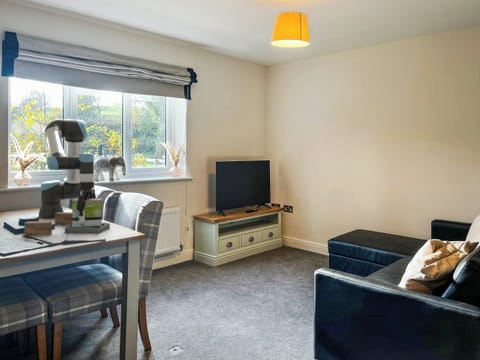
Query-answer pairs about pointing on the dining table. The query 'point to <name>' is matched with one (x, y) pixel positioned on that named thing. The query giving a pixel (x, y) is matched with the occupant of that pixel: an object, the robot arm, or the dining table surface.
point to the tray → (87, 229)
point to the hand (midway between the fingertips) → (87, 219)
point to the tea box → (88, 212)
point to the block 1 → (38, 228)
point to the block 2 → (63, 218)
